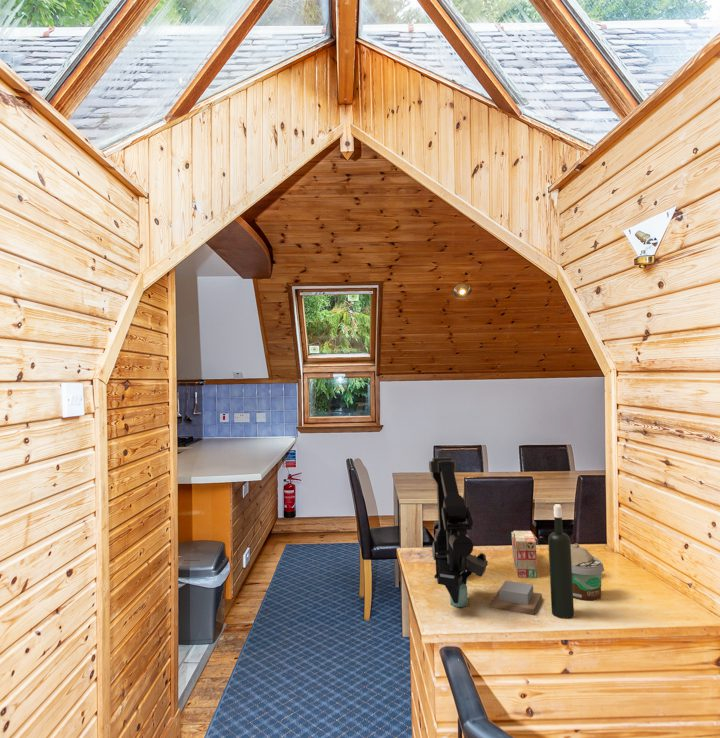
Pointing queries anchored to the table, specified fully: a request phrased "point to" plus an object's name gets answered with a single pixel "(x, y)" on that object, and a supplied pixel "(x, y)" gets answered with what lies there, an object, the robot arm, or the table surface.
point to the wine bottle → (560, 569)
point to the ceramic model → (580, 555)
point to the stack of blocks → (524, 554)
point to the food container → (587, 580)
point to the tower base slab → (516, 607)
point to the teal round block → (461, 597)
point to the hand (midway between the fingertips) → (458, 599)
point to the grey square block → (516, 592)
